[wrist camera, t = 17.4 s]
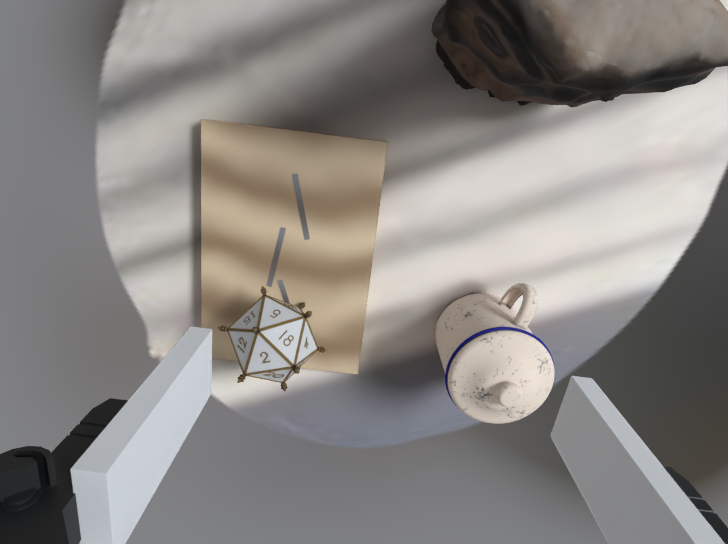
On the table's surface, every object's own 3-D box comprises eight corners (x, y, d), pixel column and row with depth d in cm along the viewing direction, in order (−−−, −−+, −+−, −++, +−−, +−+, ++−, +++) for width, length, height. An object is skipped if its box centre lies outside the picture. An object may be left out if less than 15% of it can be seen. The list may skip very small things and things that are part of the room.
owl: (598, 93, 38) (828, 63, 19) (458, 153, 40) (540, 181, 21) (558, -69, 34) (794, -307, 15) (406, 6, 36) (448, -124, 17)
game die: (308, 304, 47) (360, 359, 40) (248, 361, 46) (290, 429, 39) (258, 253, 40) (308, 309, 33) (187, 318, 39) (224, 390, 32)
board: (207, 119, 39) (200, 119, 37) (387, 141, 39) (387, 142, 38) (206, 349, 46) (201, 357, 45) (357, 366, 47) (357, 374, 45)
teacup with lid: (494, 381, 47) (532, 461, 36) (417, 351, 46) (432, 423, 35) (552, 285, 43) (615, 340, 32) (470, 249, 42) (506, 295, 31)
